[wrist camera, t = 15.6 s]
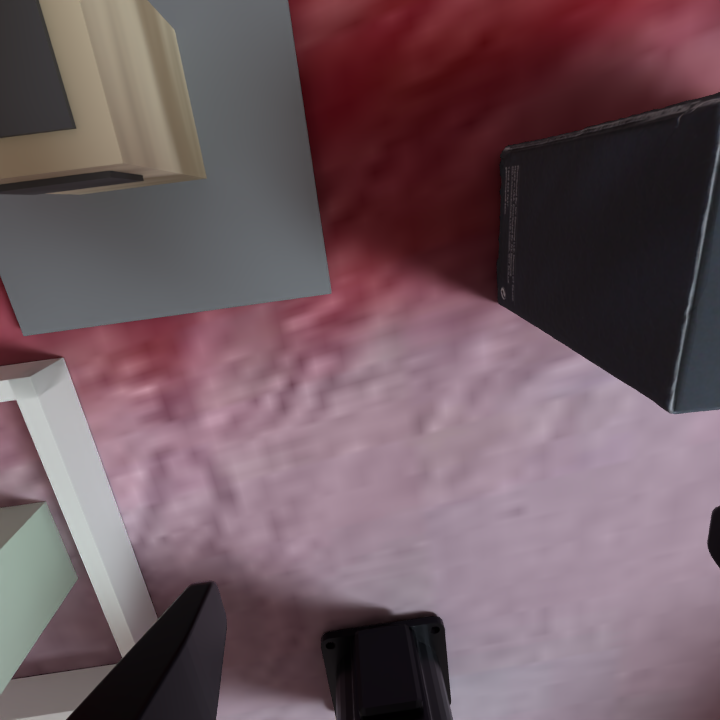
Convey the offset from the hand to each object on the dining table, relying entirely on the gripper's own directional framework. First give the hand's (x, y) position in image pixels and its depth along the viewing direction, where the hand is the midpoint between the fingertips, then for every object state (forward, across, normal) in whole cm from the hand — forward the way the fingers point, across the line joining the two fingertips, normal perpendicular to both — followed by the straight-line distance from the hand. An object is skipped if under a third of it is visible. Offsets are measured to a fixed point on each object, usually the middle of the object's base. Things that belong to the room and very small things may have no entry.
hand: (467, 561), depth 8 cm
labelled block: (+11, +8, -10) cm, 17 cm away
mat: (+12, +8, -10) cm, 18 cm away
